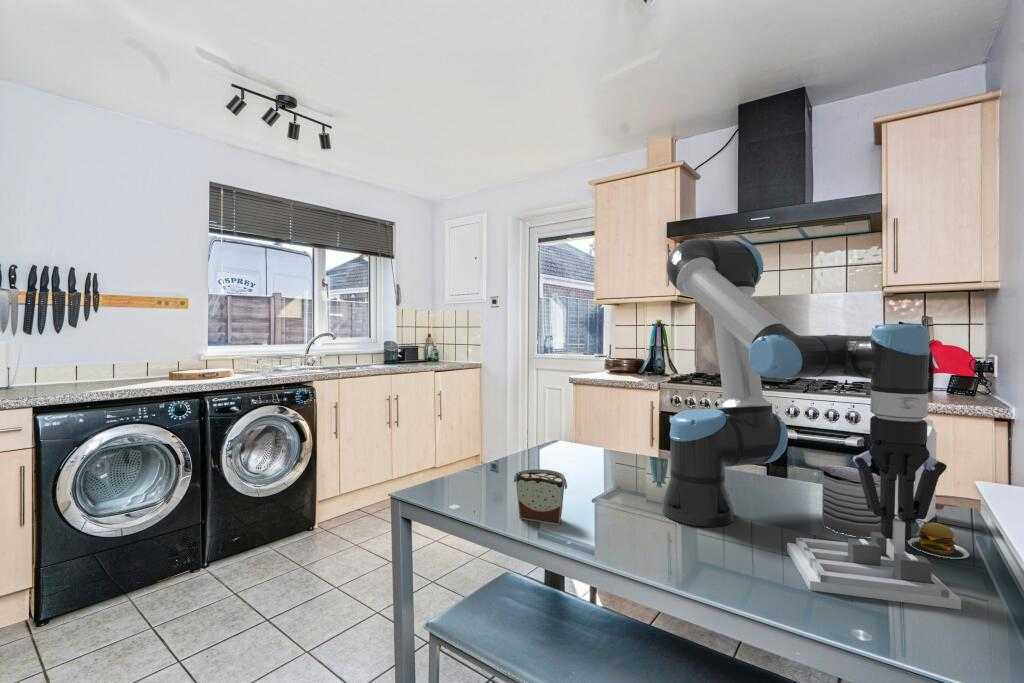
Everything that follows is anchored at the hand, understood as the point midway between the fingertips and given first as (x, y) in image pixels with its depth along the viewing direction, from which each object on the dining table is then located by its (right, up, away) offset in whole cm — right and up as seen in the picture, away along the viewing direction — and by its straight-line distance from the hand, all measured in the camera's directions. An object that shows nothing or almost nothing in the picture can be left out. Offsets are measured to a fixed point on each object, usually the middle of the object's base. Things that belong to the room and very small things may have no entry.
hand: (895, 557), depth 83 cm
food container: (-57, -4, +29) cm, 64 cm away
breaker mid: (-5, -2, +1) cm, 5 cm away
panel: (-5, -4, +1) cm, 6 cm away
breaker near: (-1, -2, -5) cm, 5 cm away
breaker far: (+2, -2, +4) cm, 5 cm away
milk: (+27, -3, +29) cm, 40 cm away
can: (+8, -4, +22) cm, 24 cm away
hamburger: (+17, -4, +12) cm, 21 cm away
